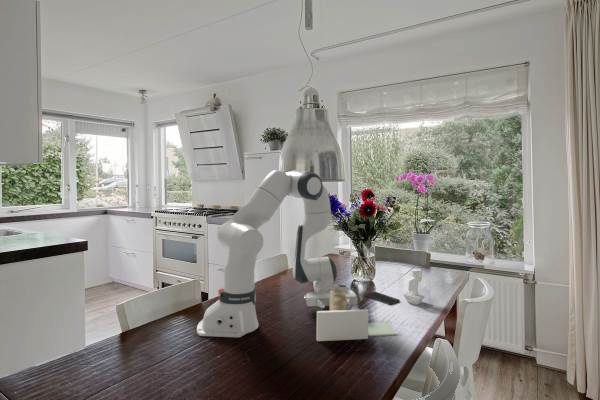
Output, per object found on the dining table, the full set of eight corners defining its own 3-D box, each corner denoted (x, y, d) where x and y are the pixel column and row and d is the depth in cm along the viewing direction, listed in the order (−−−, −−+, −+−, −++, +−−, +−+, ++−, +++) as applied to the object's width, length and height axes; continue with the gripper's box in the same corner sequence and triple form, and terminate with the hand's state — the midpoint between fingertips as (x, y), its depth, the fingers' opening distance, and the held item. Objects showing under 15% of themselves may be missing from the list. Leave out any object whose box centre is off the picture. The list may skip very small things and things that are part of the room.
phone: (374, 291, 174) (400, 300, 162) (374, 293, 174) (400, 302, 163) (364, 294, 169) (389, 303, 158) (363, 297, 169) (389, 306, 158)
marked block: (332, 332, 130) (332, 295, 129) (329, 326, 135) (329, 290, 134) (345, 332, 130) (346, 294, 129) (342, 326, 136) (342, 289, 135)
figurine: (402, 303, 161) (402, 270, 160) (411, 298, 168) (412, 266, 166) (417, 307, 156) (418, 273, 155) (426, 301, 162) (427, 269, 161)
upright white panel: (317, 341, 123) (317, 312, 122) (316, 339, 125) (316, 311, 124) (368, 338, 125) (368, 310, 125) (366, 336, 127) (367, 309, 126)
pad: (369, 336, 127) (369, 335, 127) (361, 324, 137) (361, 323, 137) (396, 335, 128) (396, 333, 128) (386, 323, 138) (386, 322, 138)
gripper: (303, 287, 148) (308, 298, 134) (351, 285, 150) (361, 296, 137) (303, 302, 148) (308, 314, 135) (351, 300, 151) (361, 312, 137)
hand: (335, 305), depth 136 cm, fingers open, 8 cm apart
